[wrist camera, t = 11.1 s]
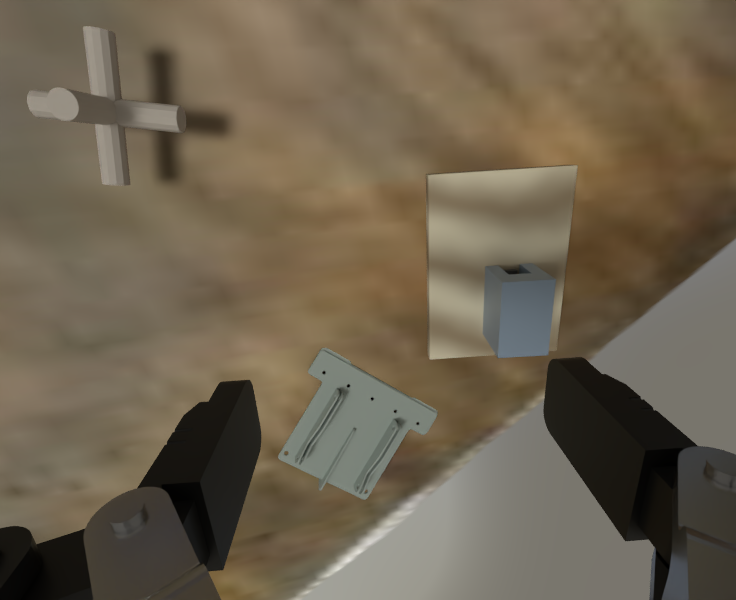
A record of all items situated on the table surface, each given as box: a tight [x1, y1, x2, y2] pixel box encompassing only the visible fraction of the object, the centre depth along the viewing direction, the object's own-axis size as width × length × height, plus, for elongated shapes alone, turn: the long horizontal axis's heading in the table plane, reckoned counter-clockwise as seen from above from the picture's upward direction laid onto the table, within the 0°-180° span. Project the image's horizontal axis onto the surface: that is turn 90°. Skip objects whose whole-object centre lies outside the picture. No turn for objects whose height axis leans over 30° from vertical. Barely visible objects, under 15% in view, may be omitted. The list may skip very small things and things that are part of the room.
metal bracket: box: [278, 348, 437, 500], centre depth 44 cm, size 14×6×15 cm
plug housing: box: [483, 263, 556, 358], centre depth 37 cm, size 7×4×5 cm, turn 4°
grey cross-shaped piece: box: [27, 26, 186, 185], centre depth 29 cm, size 10×10×10 cm
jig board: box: [426, 165, 578, 359], centre depth 37 cm, size 18×13×4 cm
